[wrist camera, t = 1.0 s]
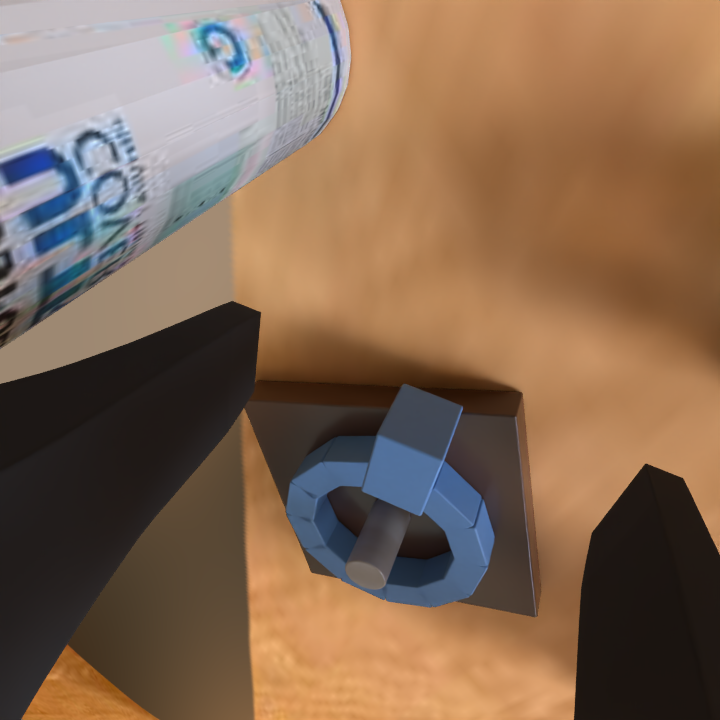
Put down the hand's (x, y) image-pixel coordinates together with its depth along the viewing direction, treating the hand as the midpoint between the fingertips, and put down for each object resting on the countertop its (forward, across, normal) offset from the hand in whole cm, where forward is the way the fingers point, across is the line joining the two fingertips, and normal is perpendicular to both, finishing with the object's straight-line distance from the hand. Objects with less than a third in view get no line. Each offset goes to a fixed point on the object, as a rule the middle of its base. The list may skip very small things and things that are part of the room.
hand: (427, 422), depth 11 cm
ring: (+9, 0, +13) cm, 16 cm away
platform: (+10, 0, +14) cm, 18 cm away
